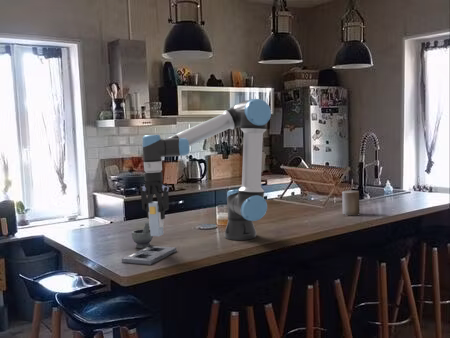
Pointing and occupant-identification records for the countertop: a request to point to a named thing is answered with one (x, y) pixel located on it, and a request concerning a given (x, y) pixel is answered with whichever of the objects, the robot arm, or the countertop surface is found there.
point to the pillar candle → (350, 202)
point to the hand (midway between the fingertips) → (156, 226)
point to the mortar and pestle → (142, 236)
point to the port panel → (149, 255)
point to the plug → (154, 220)
